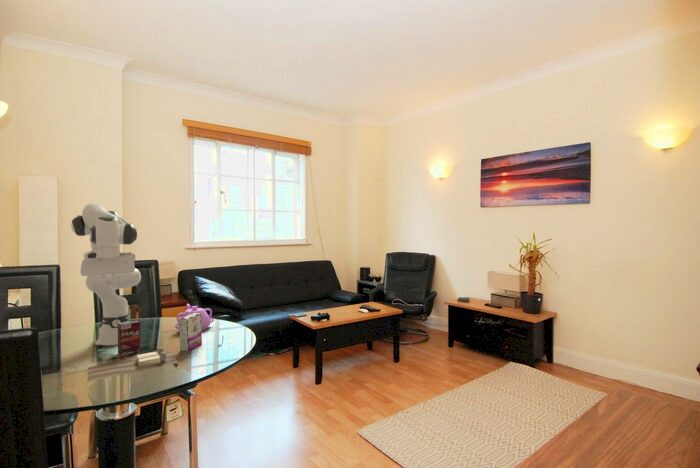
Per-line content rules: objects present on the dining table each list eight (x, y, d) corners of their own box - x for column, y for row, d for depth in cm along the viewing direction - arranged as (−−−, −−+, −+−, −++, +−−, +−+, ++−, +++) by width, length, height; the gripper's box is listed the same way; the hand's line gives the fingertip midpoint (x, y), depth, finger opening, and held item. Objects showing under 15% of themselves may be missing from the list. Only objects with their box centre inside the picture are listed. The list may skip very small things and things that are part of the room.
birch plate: (137, 360, 162) (137, 355, 161) (157, 356, 166) (157, 351, 166) (139, 367, 153) (139, 361, 153) (160, 363, 158) (160, 357, 158)
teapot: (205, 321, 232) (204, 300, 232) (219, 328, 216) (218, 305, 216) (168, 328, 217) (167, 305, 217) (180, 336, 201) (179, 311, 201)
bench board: (88, 370, 155) (87, 358, 154) (170, 354, 173) (170, 342, 173) (87, 385, 140) (87, 371, 140) (177, 365, 158) (177, 353, 158)
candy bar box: (193, 343, 188) (192, 312, 188) (202, 344, 187) (201, 312, 187) (179, 351, 177) (178, 318, 177) (188, 351, 176) (187, 318, 176)
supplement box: (120, 359, 168) (119, 325, 168) (117, 356, 171) (116, 323, 171) (141, 354, 174) (140, 321, 174) (138, 351, 178) (137, 319, 177)
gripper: (134, 251, 169) (135, 280, 170) (80, 253, 158) (81, 285, 158) (135, 252, 164) (136, 282, 165) (79, 255, 152) (80, 287, 153)
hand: (108, 284), depth 161 cm, fingers closed
